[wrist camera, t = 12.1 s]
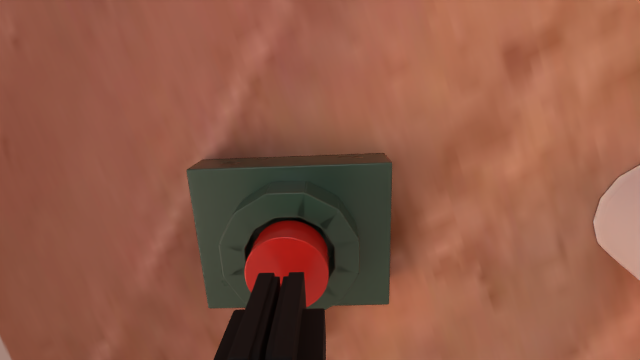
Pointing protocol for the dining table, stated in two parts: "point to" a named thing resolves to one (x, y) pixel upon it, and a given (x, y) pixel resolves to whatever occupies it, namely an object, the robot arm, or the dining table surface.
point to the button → (290, 256)
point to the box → (297, 205)
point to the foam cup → (621, 221)
